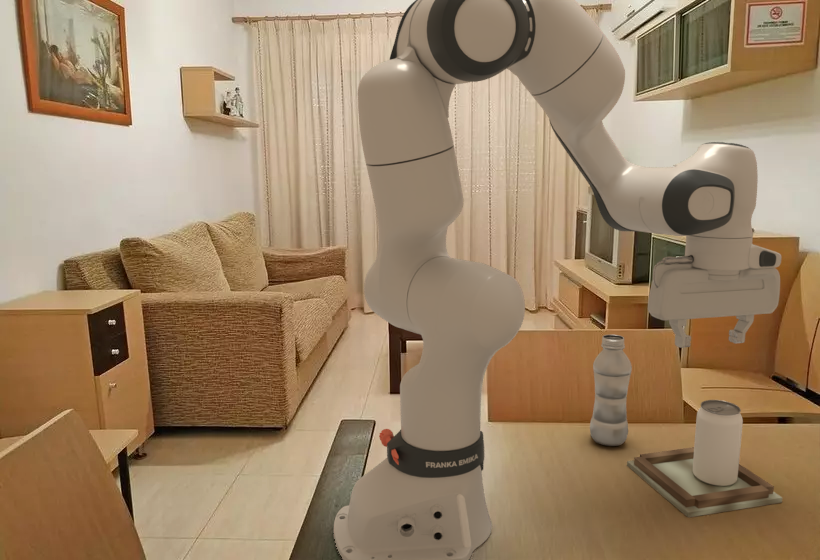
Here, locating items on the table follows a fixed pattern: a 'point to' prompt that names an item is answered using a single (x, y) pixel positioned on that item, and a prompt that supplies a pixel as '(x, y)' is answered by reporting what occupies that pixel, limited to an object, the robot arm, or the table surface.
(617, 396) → the plastic bottle
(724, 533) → the table surface
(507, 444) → the table surface
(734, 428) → the can
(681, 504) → the wooden picture frame
